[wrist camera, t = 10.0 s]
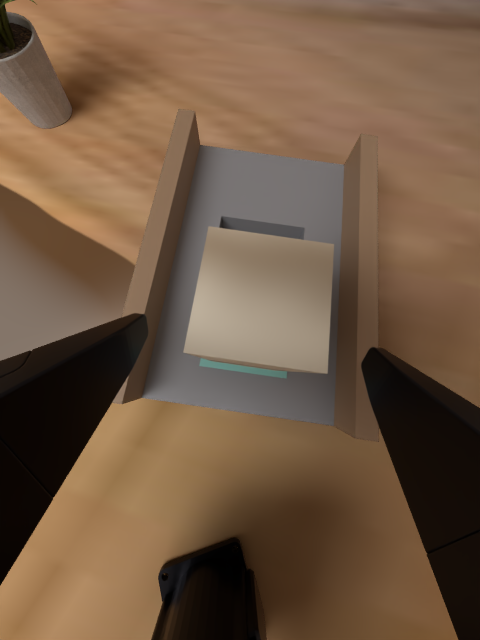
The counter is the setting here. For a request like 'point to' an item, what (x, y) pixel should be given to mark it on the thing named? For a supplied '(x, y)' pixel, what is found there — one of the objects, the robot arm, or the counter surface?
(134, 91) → the counter surface
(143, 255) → the channel
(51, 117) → the house plant
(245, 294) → the block
